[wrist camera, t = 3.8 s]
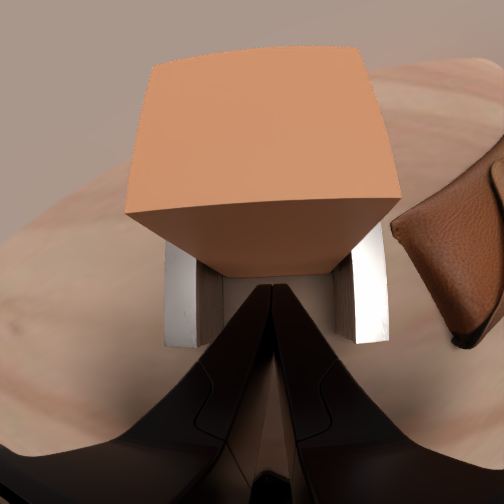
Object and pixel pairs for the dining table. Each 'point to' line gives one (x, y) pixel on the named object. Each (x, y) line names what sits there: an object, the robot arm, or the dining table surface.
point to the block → (263, 159)
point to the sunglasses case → (462, 248)
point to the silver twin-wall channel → (211, 296)
